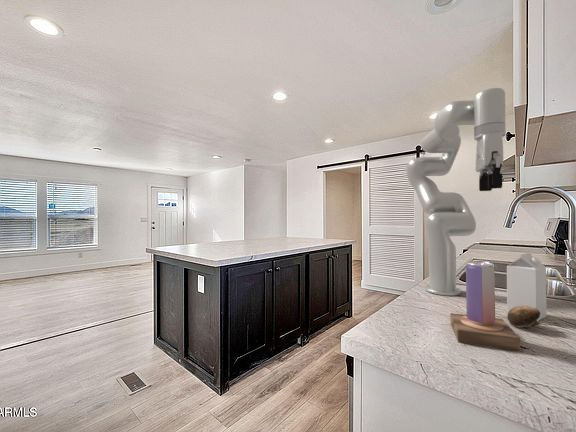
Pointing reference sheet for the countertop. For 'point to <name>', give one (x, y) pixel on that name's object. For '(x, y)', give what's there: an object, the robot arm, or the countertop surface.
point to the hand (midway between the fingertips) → (490, 189)
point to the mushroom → (523, 316)
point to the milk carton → (527, 284)
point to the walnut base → (484, 333)
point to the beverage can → (480, 293)
